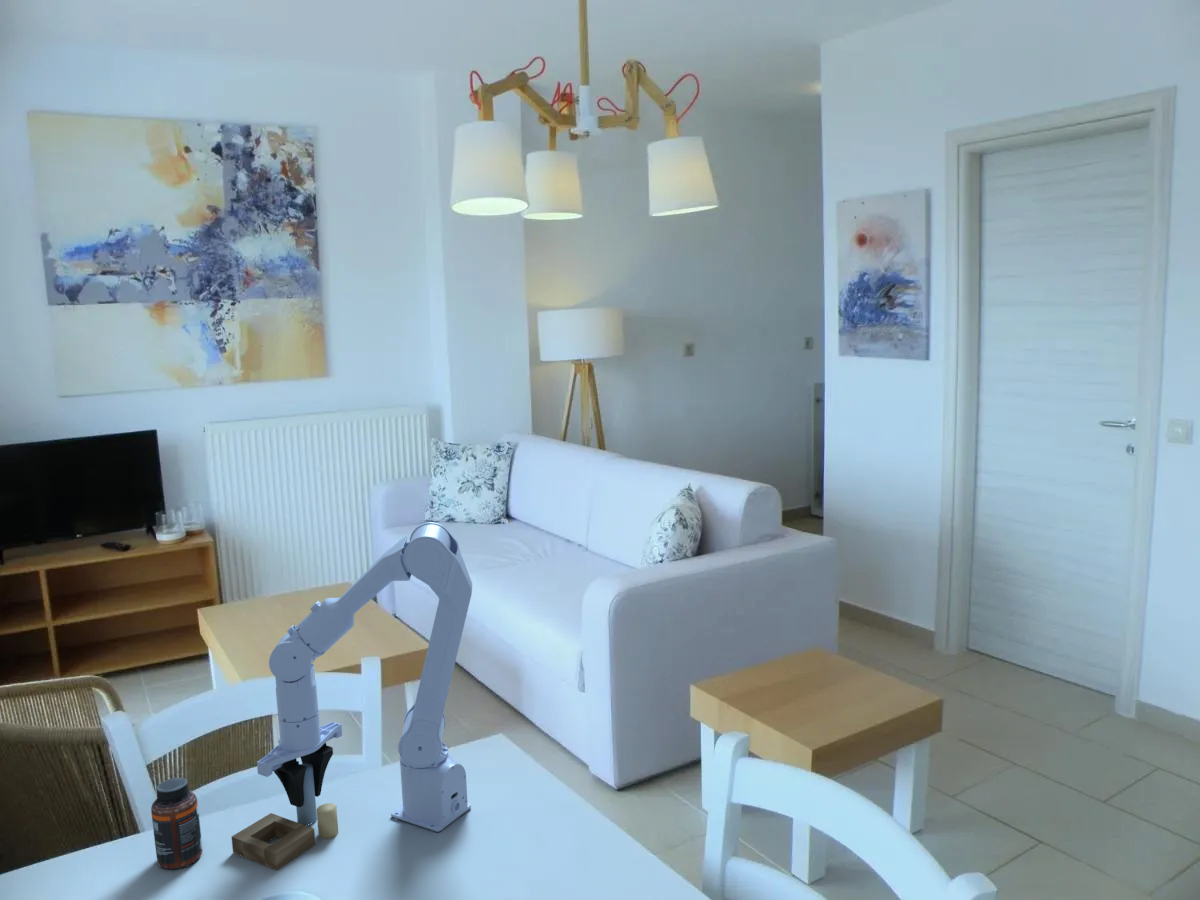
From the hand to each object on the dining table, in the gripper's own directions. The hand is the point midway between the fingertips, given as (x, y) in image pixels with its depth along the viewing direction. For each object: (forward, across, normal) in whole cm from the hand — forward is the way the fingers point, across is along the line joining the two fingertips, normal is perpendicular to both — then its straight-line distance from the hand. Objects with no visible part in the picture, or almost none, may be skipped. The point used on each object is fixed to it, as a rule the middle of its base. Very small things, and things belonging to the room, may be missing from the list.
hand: (305, 799), depth 141 cm
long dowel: (+3, 0, 0) cm, 3 cm away
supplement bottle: (+4, +16, -8) cm, 18 cm away
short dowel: (+3, +1, +6) cm, 7 cm away
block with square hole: (+3, +8, +2) cm, 8 cm away
